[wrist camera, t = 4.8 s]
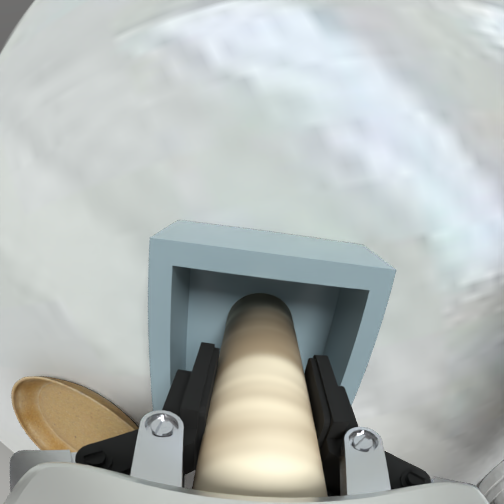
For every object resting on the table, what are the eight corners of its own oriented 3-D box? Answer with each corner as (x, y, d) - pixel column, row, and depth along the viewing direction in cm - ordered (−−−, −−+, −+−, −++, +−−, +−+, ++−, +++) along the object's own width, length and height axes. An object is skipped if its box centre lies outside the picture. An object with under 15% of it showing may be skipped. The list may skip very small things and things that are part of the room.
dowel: (230, 288, 16) (183, 495, 5) (298, 297, 16) (353, 502, 5) (224, 346, 17) (187, 543, 5) (286, 353, 17) (309, 550, 6)
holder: (178, 219, 16) (149, 237, 12) (363, 244, 16) (396, 270, 12) (172, 373, 18) (154, 420, 14) (323, 390, 19) (336, 439, 14)
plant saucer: (190, 416, 20) (184, 441, 17) (150, 490, 23) (144, 508, 21) (24, 327, 19) (5, 342, 16) (29, 426, 22) (18, 441, 20)
